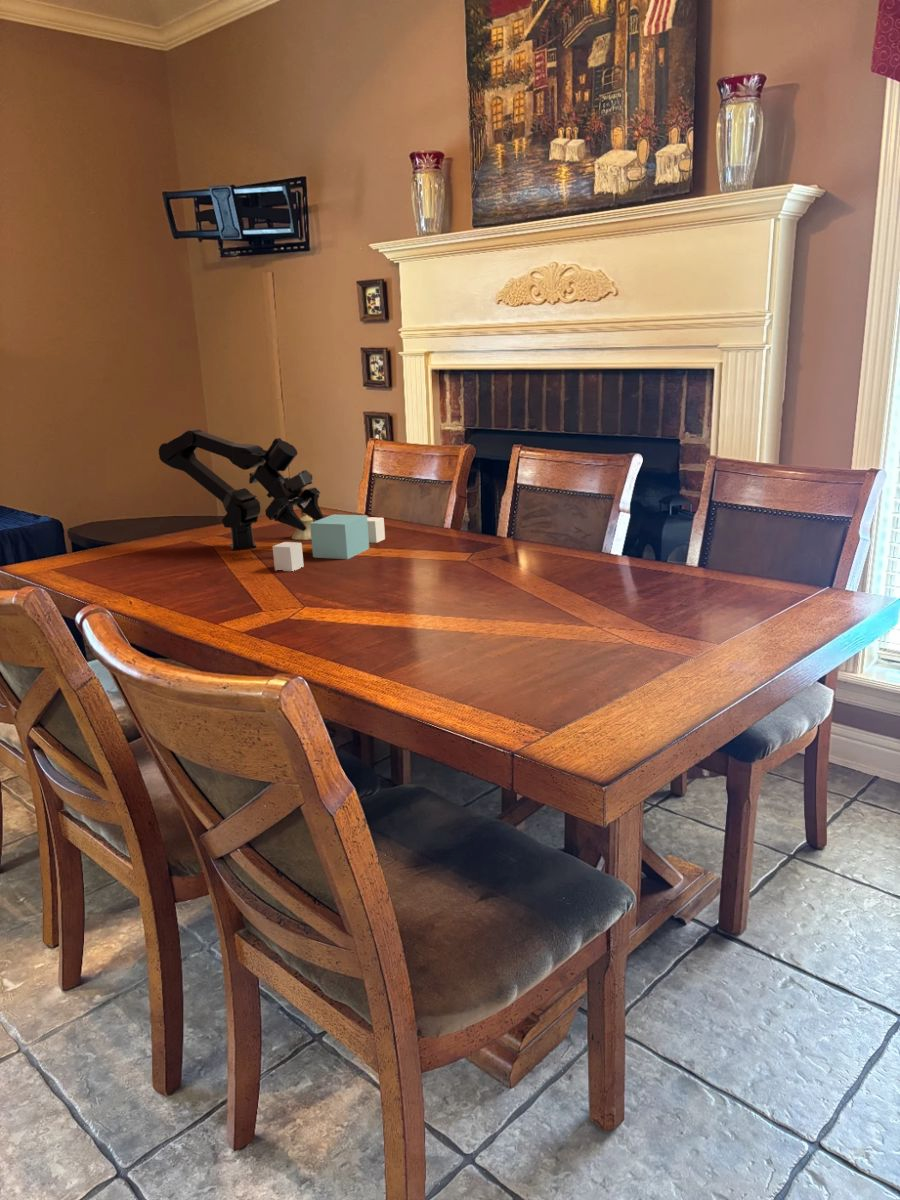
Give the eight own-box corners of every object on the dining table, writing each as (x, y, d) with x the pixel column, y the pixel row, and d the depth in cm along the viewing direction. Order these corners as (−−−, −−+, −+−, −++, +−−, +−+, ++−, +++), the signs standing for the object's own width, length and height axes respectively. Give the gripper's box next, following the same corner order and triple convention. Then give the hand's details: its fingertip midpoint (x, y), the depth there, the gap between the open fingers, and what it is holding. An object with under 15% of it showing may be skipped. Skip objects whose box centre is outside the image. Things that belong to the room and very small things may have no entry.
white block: (275, 570, 206) (272, 546, 204) (286, 565, 210) (284, 541, 208) (292, 571, 204) (290, 547, 202) (303, 566, 208) (301, 542, 206)
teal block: (313, 557, 217) (309, 523, 215) (336, 547, 228) (333, 514, 225) (347, 559, 213) (344, 524, 211) (369, 549, 224) (366, 515, 222)
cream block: (360, 542, 232) (358, 520, 231) (369, 538, 237) (367, 517, 235) (376, 543, 230) (375, 521, 229) (385, 539, 235) (383, 517, 233)
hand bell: (290, 536, 244) (284, 480, 240) (318, 533, 247) (313, 478, 242) (293, 541, 237) (288, 484, 232) (323, 538, 239) (318, 482, 235)
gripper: (270, 466, 211) (312, 511, 210) (310, 457, 227) (349, 498, 226) (247, 497, 216) (288, 541, 215) (288, 486, 232) (327, 527, 231)
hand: (314, 526), depth 222 cm, fingers open, 9 cm apart
